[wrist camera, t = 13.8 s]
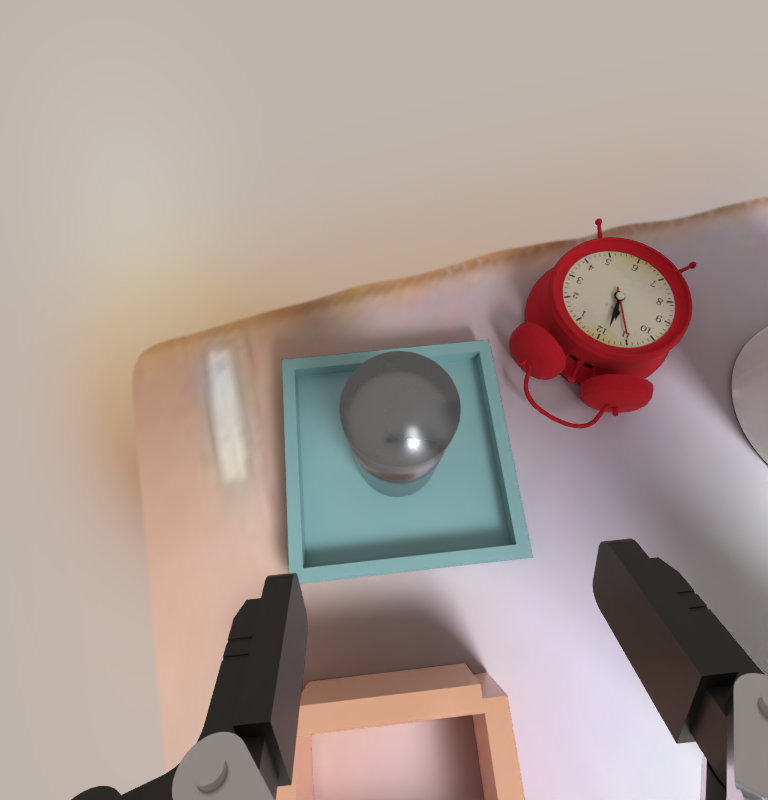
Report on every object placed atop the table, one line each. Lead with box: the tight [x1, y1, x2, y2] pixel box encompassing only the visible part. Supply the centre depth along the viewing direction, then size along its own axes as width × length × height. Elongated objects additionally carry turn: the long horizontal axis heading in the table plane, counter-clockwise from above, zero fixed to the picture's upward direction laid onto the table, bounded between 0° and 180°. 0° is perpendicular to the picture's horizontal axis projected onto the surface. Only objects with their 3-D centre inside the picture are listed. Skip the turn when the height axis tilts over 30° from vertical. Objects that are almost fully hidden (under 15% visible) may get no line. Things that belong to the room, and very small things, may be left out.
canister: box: [339, 351, 461, 497], centre depth 24 cm, size 5×5×11 cm
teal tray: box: [282, 340, 533, 584], centre depth 29 cm, size 14×14×2 cm
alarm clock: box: [510, 219, 696, 428], centre depth 31 cm, size 10×6×15 cm
